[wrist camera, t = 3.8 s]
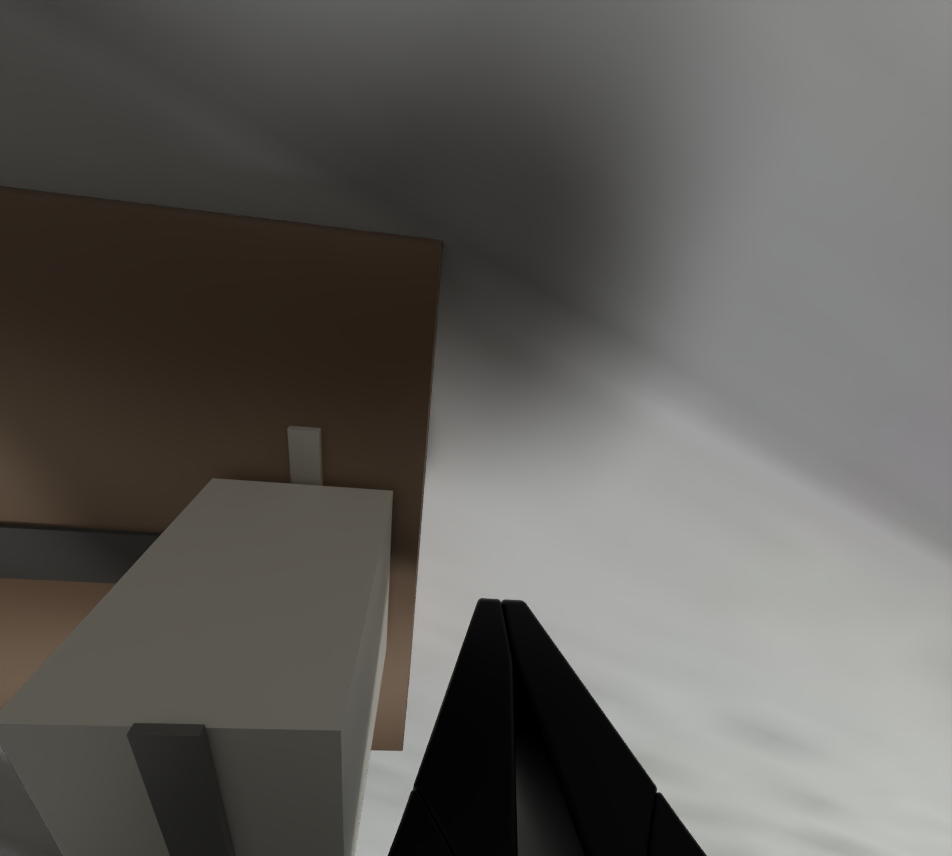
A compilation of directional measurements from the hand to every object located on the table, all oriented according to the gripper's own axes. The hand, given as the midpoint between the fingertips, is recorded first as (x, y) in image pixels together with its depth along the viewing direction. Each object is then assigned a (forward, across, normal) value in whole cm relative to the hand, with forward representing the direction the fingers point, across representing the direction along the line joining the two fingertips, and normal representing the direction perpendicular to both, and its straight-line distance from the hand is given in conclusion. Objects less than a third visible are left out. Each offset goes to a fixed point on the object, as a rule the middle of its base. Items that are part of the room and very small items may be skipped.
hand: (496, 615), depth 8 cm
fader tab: (+1, +3, 0) cm, 4 cm away
